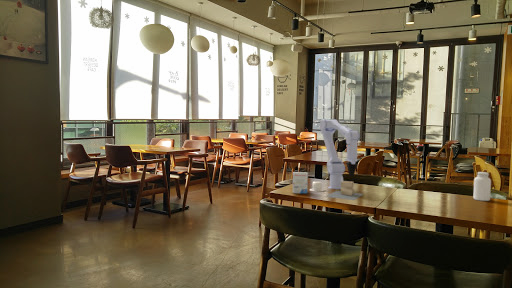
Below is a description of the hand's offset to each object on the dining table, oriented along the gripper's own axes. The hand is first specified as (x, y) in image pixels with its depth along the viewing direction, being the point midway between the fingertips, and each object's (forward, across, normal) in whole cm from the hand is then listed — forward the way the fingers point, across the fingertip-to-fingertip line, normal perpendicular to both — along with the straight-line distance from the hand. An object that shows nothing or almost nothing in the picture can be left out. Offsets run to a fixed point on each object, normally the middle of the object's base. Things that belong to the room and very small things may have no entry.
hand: (351, 175), depth 224 cm
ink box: (+11, +5, -29) cm, 32 cm away
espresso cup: (+10, -4, -19) cm, 22 cm away
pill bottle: (+11, +4, +70) cm, 71 cm away
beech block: (+10, +6, -3) cm, 12 cm away
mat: (+10, +10, -4) cm, 15 cm away
